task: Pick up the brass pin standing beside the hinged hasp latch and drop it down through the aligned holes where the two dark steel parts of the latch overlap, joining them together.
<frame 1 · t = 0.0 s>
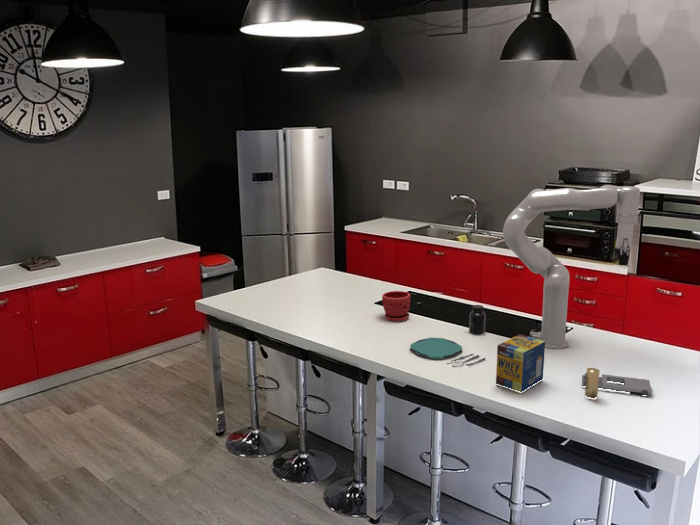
hand: (622, 262, 243), 37 cm above the kitchen island, tool pointing down, fingers open, 9 cm apart
protein box: (519, 383, 224), on the kitchen island
hinged hasp latch: (615, 387, 220), on the kitchen island
supplement bottle: (476, 332, 275), on the kitchen island
plant pot: (396, 318, 295), on the kitchen island
cutlery set: (444, 355, 252), on the kitchen island
brass pin: (590, 397, 213), on the kitchen island
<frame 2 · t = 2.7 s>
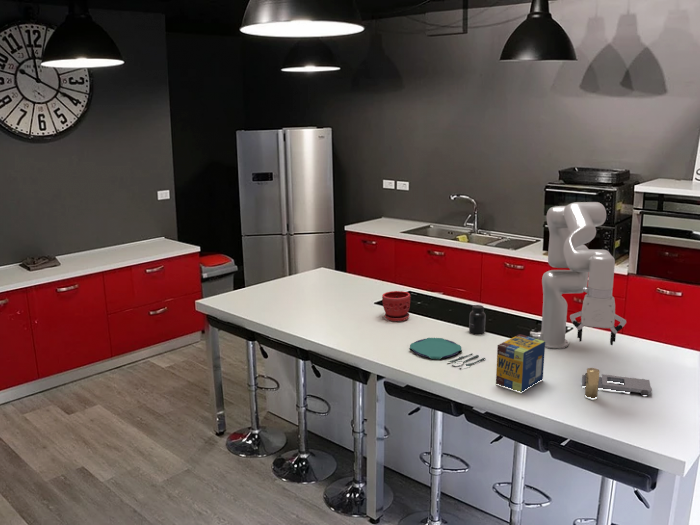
hand: (595, 341, 208), 20 cm above the kitchen island, tool pointing down, fingers open, 9 cm apart
nothing on the kitchen island moved.
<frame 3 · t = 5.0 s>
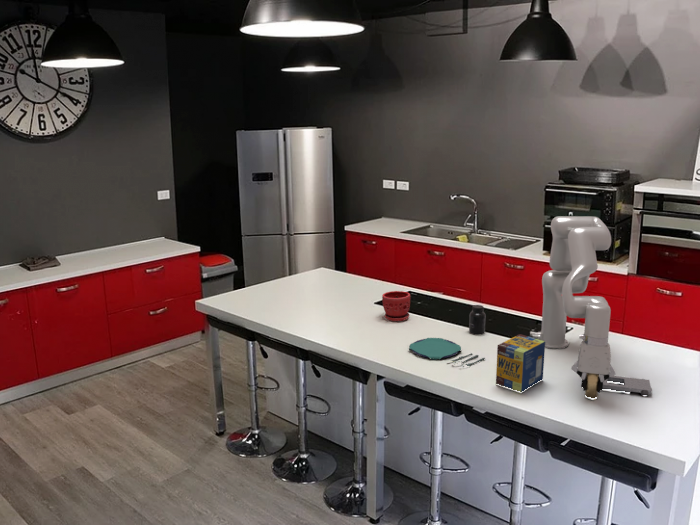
hand: (591, 389, 212), 3 cm above the kitchen island, tool pointing down, fingers closed on brass pin, 4 cm apart
brass pin: (590, 397, 213), on the kitchen island, touching gripper
everything else where it was.
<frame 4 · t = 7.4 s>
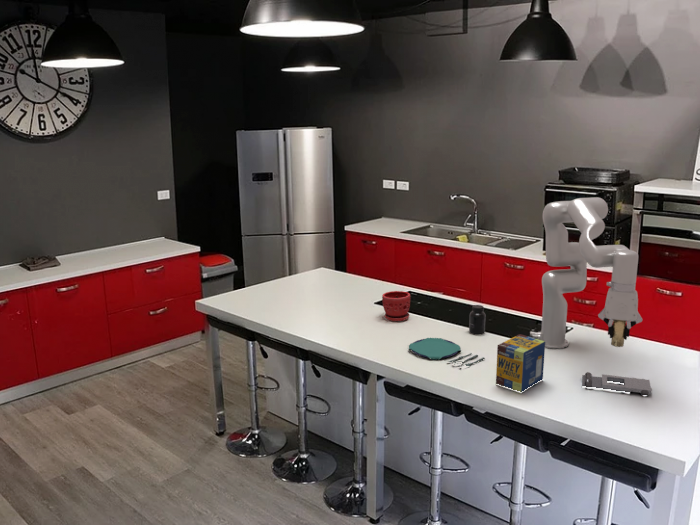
hand: (618, 337, 215), 19 cm above the kitchen island, tool pointing down, fingers closed on brass pin, 4 cm apart
brass pin: (617, 344, 215), point 16 cm above the kitchen island, touching gripper
everything else where it was.
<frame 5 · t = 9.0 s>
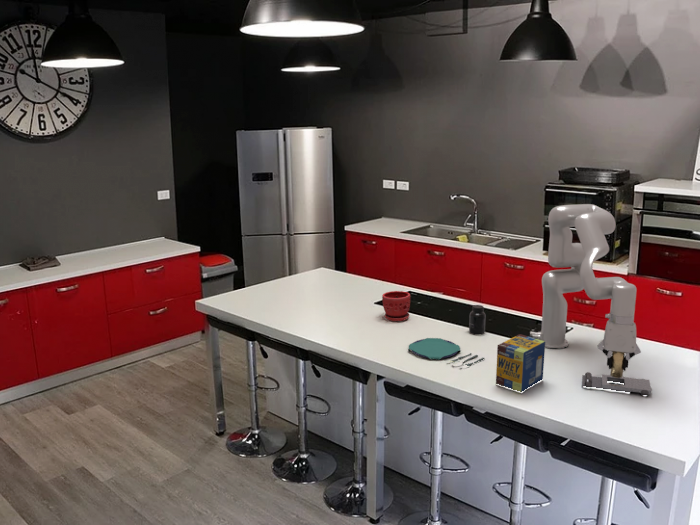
hand: (617, 367, 218), 7 cm above the kitchen island, tool pointing down, fingers closed on brass pin, 4 cm apart
brass pin: (616, 375, 219), point 5 cm above the kitchen island, touching gripper
everything else where it was.
when the fingers open (4 cm above the kitchen island, at t = 10.1 s): brass pin stays where it is, resting in hinged hasp latch.
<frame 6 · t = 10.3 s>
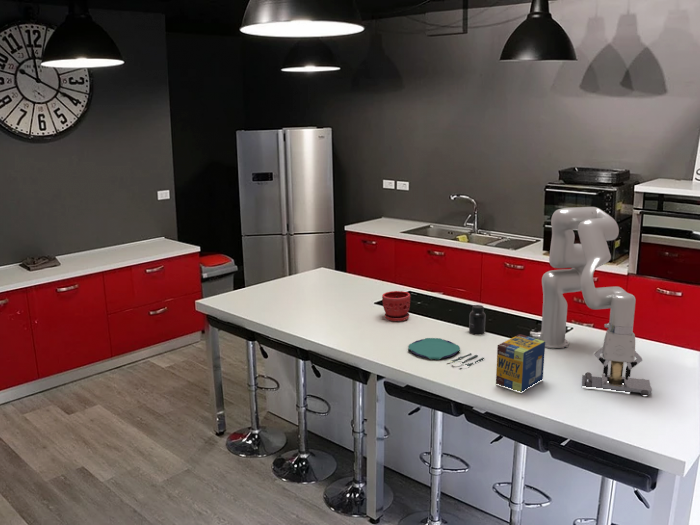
hand: (616, 376, 219), 4 cm above the kitchen island, tool pointing down, fingers open, 6 cm apart
brass pin: (614, 387, 220), resting in hinged hasp latch
everything else where it was.
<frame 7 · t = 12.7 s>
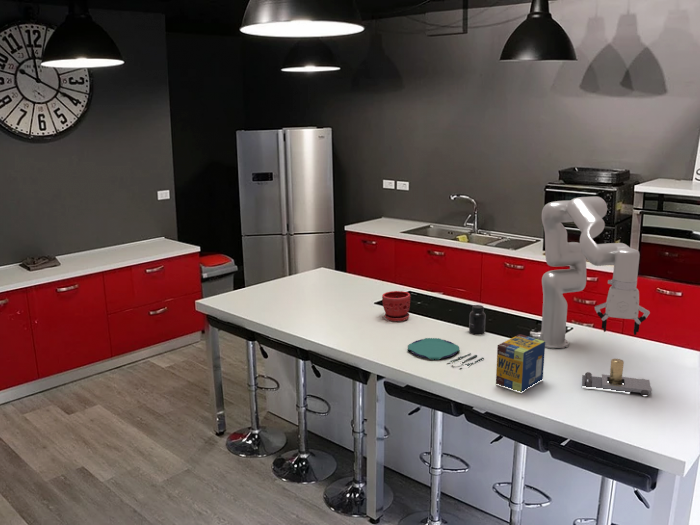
hand: (619, 332, 215), 20 cm above the kitchen island, tool pointing down, fingers open, 9 cm apart
nothing on the kitchen island moved.
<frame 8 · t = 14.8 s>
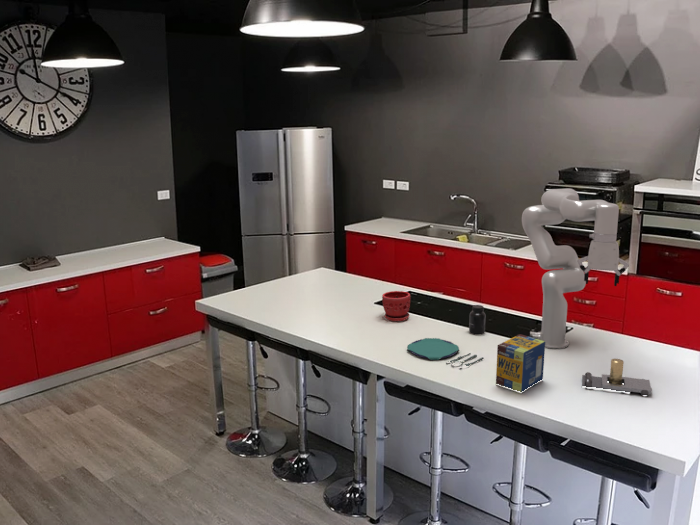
hand: (601, 284, 227), 33 cm above the kitchen island, tool pointing down, fingers open, 9 cm apart
at the end: brass pin 0.1 cm from the hinged hasp latch (horizontally); brass pin resting in hinged hasp latch; brass pin tilted 0° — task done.
